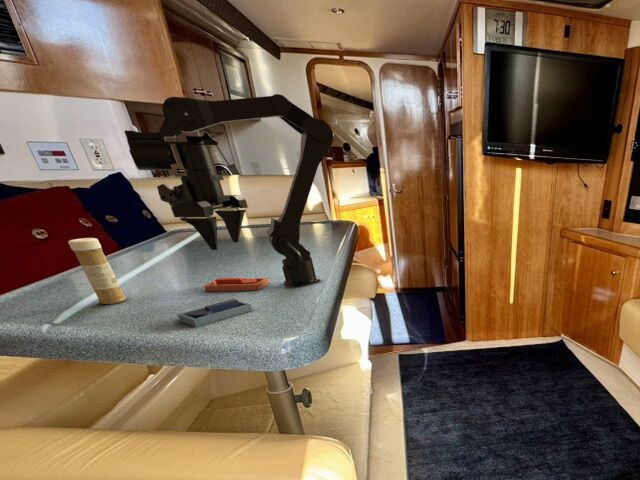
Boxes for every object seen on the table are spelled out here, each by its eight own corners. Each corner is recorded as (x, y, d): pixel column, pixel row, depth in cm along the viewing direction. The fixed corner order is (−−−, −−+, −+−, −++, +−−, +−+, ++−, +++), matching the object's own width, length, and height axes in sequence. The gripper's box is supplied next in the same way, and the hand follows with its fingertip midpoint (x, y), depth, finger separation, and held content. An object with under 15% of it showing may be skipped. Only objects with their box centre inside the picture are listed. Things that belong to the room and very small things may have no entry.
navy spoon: (234, 306, 86) (231, 298, 85) (243, 308, 85) (240, 300, 84) (188, 318, 79) (184, 310, 79) (197, 321, 78) (194, 313, 77)
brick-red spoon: (215, 287, 98) (212, 280, 97) (222, 284, 101) (220, 277, 100) (253, 287, 99) (251, 280, 98) (259, 283, 102) (257, 276, 101)
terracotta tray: (269, 283, 103) (267, 277, 103) (258, 290, 98) (257, 284, 97) (219, 284, 102) (217, 278, 102) (206, 291, 97) (203, 285, 96)
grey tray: (236, 305, 88) (234, 299, 87) (252, 310, 85) (250, 304, 85) (179, 320, 79) (176, 314, 79) (195, 326, 77) (193, 320, 76)
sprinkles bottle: (110, 298, 91) (79, 237, 85) (131, 298, 92) (103, 237, 85) (94, 305, 87) (60, 241, 81) (116, 304, 88) (85, 241, 81)
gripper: (187, 168, 92) (212, 239, 100) (127, 171, 76) (161, 254, 84) (237, 168, 93) (258, 238, 101) (188, 171, 77) (217, 254, 84)
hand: (225, 245), depth 92 cm, fingers open, 9 cm apart
